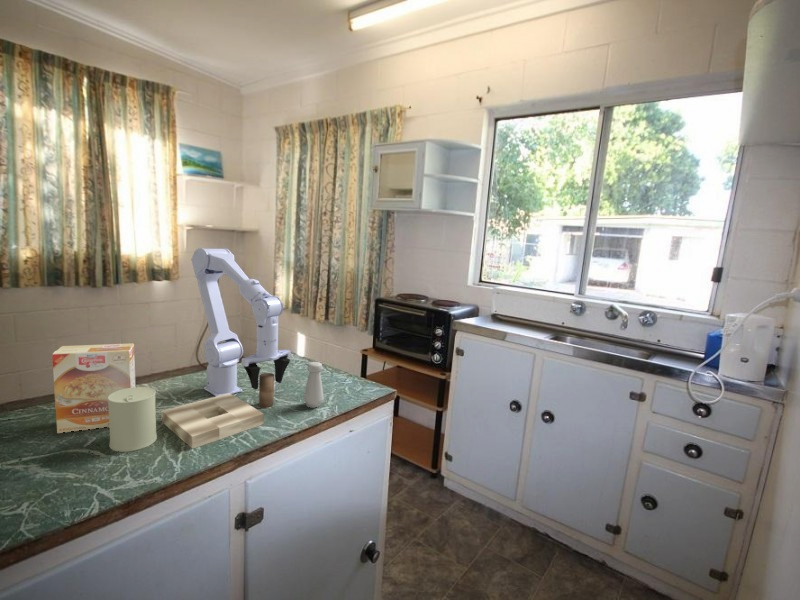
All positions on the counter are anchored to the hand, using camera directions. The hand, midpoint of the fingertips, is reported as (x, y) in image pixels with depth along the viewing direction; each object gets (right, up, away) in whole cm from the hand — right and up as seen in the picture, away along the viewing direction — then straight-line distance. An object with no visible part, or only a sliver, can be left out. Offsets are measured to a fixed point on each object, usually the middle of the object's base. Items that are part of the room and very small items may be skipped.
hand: (266, 385), depth 116 cm
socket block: (-10, -7, -12) cm, 17 cm away
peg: (0, -6, +1) cm, 6 cm away
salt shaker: (+13, -7, +3) cm, 15 cm away
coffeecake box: (-37, -6, -16) cm, 40 cm away
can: (-23, -8, -23) cm, 34 cm away
